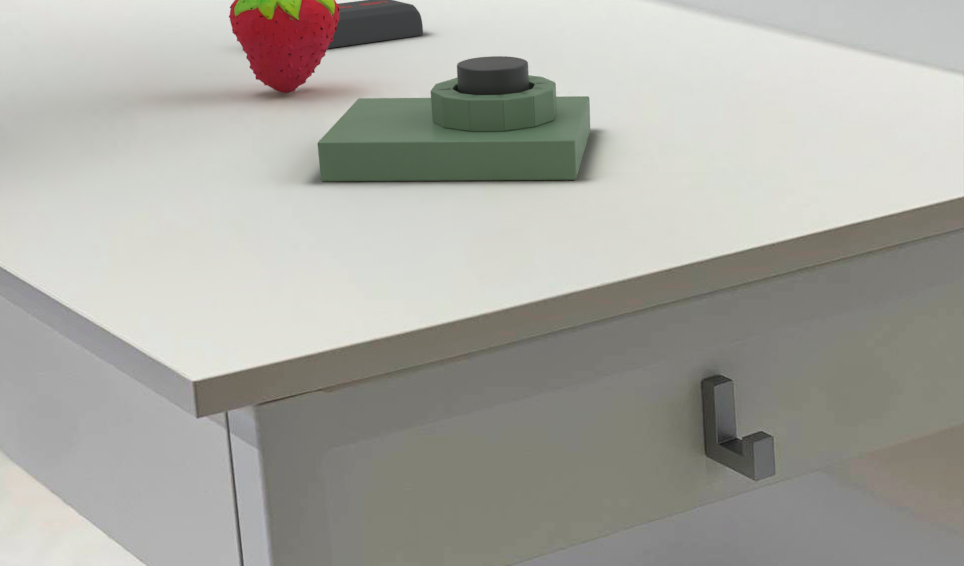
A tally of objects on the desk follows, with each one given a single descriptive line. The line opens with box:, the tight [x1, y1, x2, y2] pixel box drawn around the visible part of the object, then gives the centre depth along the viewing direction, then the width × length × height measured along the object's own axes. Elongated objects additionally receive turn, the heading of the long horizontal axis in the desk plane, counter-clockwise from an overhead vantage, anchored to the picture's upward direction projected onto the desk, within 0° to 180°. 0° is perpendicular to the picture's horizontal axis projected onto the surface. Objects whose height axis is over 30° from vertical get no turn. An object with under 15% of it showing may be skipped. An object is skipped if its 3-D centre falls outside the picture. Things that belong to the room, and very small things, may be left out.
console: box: [317, 75, 591, 182], centre depth 92 cm, size 14×11×4 cm
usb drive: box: [328, 0, 424, 49], centre depth 128 cm, size 5×12×3 cm, turn 127°
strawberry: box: [228, 0, 340, 94], centre depth 108 cm, size 6×7×10 cm
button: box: [456, 55, 529, 95], centre depth 91 cm, size 4×4×2 cm
